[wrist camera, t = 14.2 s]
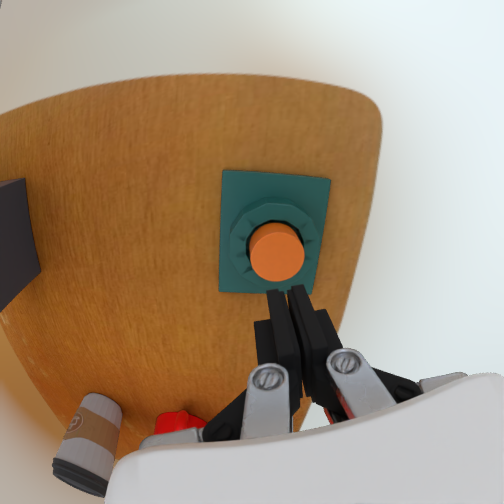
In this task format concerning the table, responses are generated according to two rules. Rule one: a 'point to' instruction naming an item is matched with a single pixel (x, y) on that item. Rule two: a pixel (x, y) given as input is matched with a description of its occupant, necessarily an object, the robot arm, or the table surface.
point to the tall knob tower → (15, 241)
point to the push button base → (263, 212)
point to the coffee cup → (90, 446)
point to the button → (276, 252)
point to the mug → (177, 422)
